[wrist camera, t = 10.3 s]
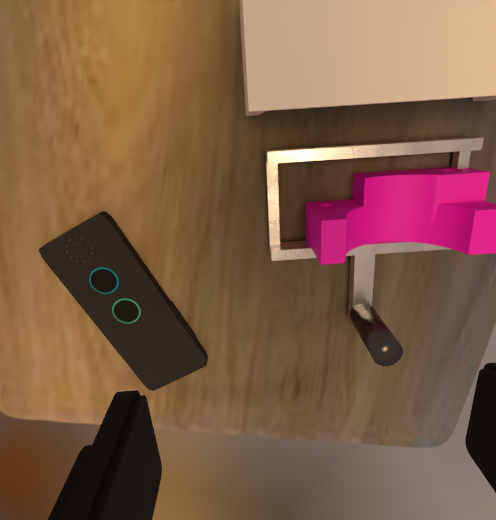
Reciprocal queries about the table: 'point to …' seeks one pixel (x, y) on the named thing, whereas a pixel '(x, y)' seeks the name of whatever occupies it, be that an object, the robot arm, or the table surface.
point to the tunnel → (365, 52)
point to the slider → (363, 257)
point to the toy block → (406, 213)
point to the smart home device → (125, 301)
